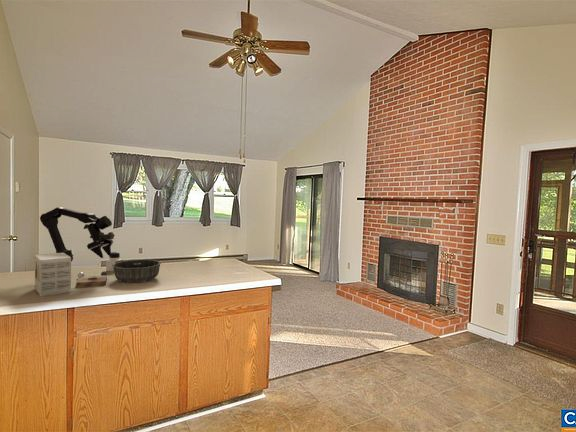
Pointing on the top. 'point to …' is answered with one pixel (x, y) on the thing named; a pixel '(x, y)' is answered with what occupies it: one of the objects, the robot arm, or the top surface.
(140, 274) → the bundt pan
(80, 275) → the steel ball
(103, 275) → the dark gray rubber ball
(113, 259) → the medicine bottle
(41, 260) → the supplement box
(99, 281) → the walnut board
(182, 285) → the top surface
